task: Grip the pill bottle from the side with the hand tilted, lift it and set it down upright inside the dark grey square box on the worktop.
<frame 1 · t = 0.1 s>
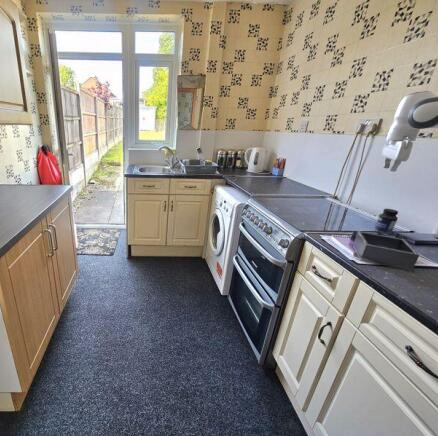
hand: (388, 169, 106), 28 cm above the countertop, tool pointing down, fingers open, 8 cm apart
pill bottle: (381, 233, 113), on the countertop
dark grey square box: (378, 258, 90), on the countertop
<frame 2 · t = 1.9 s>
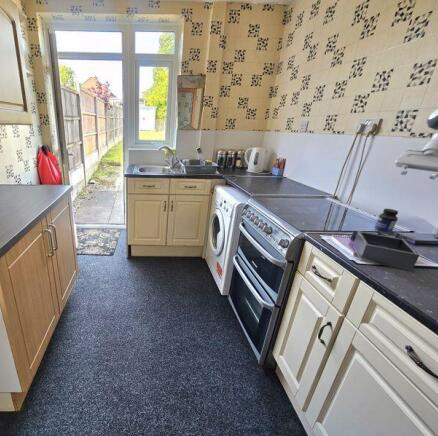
hand: (416, 176, 108), 25 cm above the countertop, tool tilted 45°, fingers open, 8 cm apart
nothing on the countertop moved.
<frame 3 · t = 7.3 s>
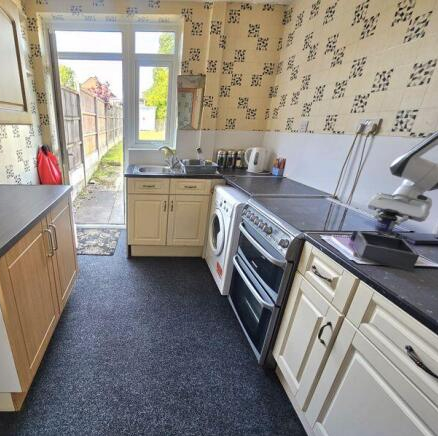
hand: (386, 220, 110), 6 cm above the countertop, tool tilted 45°, fingers closed on pill bottle, 6 cm apart
pill bottle: (381, 233, 113), on the countertop, touching gripper
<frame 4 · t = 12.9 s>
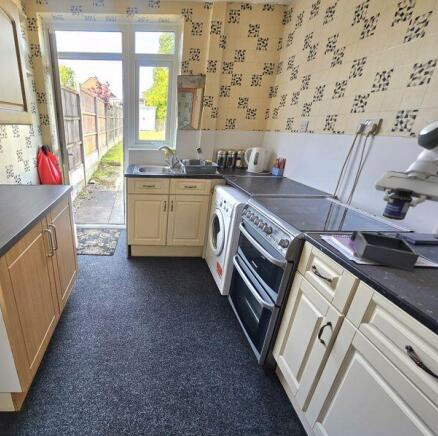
hand: (398, 202, 91), 19 cm above the countertop, tool tilted 45°, fingers closed on pill bottle, 6 cm apart
pill bottle: (392, 218, 94), point 13 cm above the countertop, touching gripper
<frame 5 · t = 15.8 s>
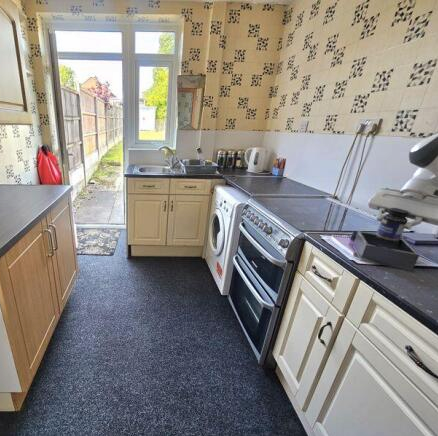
hand: (392, 224, 85), 14 cm above the countertop, tool tilted 45°, fingers closed on pill bottle, 6 cm apart
pill bottle: (386, 239, 88), point 8 cm above the countertop, touching gripper
when the fingers open (7 cm above the countertop, at t = 18.4 s): pill bottle stays where it is, resting on dark grey square box.
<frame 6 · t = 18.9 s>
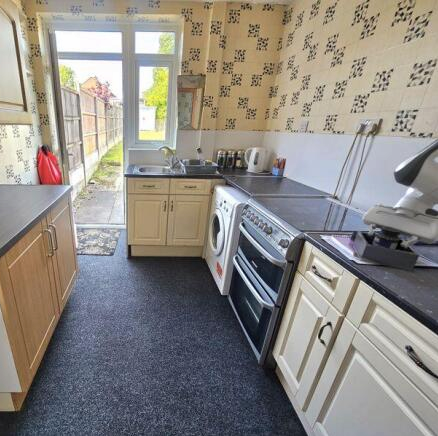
hand: (385, 240, 87), 8 cm above the countertop, tool tilted 45°, fingers open, 8 cm apart
pill bottle: (379, 256, 90), point 1 cm above the countertop, touching dark grey square box
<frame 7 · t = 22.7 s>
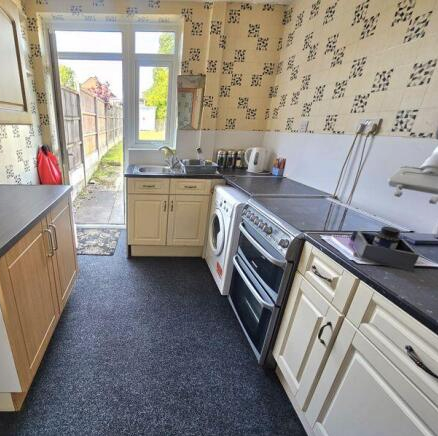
hand: (413, 199, 88), 21 cm above the countertop, tool tilted 45°, fingers open, 8 cm apart
nothing on the countertop moved.
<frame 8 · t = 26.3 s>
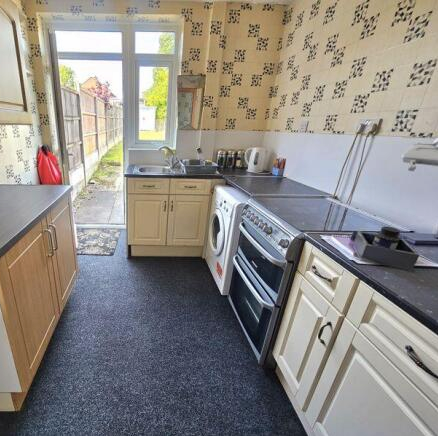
hand: (426, 172, 95), 29 cm above the countertop, tool tilted 45°, fingers open, 8 cm apart
nothing on the countertop moved.
at the end: pill bottle inside the target area in the dark grey square box (0.1 cm from its centre), point 0.8 cm above the dark grey square box's base; pill bottle tilted 0°; the gripper is holding nothing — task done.
